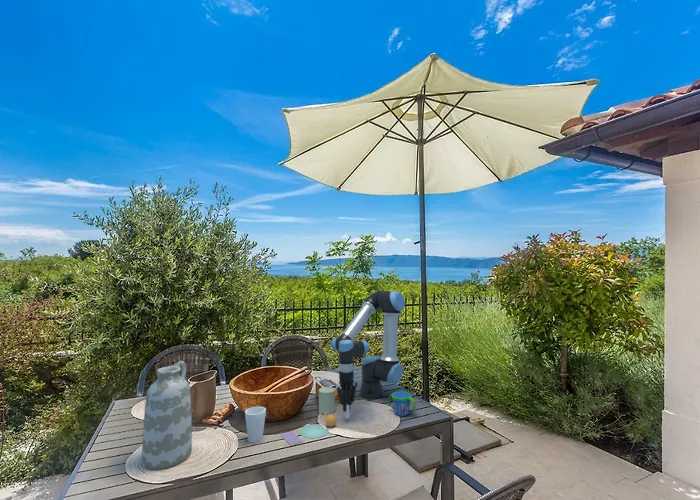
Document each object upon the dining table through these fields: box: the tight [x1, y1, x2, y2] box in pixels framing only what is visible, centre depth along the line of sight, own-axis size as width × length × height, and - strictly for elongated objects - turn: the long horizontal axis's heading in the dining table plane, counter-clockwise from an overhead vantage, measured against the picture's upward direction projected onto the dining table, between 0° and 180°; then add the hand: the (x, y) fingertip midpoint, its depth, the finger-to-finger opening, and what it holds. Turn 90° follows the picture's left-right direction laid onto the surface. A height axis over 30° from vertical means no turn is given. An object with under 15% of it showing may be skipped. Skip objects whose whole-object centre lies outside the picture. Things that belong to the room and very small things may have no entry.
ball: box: [324, 414, 337, 428], centre depth 170 cm, size 6×6×6 cm
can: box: [318, 386, 336, 414], centre depth 189 cm, size 9×9×12 cm
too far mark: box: [280, 430, 304, 446], centre depth 158 cm, size 6×12×1 cm, turn 34°
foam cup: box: [244, 406, 267, 443], centre depth 158 cm, size 10×9×13 cm
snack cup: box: [387, 390, 416, 417], centre depth 184 cm, size 16×10×10 cm
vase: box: [141, 360, 193, 471], centre depth 145 cm, size 20×19×38 cm
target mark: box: [299, 423, 329, 439], centre depth 165 cm, size 14×14×1 cm
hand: (346, 417), depth 176 cm, fingers closed
